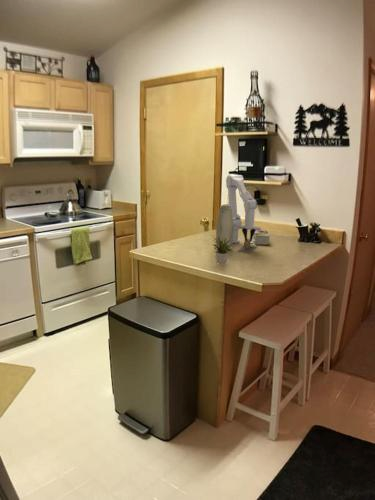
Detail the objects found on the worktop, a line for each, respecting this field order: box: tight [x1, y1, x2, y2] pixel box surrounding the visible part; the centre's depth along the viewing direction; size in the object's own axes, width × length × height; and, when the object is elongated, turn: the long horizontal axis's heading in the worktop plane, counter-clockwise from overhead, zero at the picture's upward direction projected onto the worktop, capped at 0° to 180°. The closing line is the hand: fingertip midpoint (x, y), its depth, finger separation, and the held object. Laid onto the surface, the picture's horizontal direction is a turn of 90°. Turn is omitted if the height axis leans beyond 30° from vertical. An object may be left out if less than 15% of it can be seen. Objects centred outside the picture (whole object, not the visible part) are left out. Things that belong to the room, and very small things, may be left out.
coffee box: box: [253, 230, 270, 246], centre depth 270 cm, size 9×6×16 cm
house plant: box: [210, 235, 234, 265], centre depth 218 cm, size 14×14×16 cm
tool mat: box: [237, 244, 258, 254], centre depth 253 cm, size 8×19×1 cm, turn 159°
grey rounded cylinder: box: [215, 204, 234, 249], centre depth 246 cm, size 10×10×28 cm
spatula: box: [243, 238, 255, 249], centre depth 252 cm, size 14×5×4 cm, turn 158°
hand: (248, 240), depth 252 cm, fingers closed on spatula, 2 cm apart
